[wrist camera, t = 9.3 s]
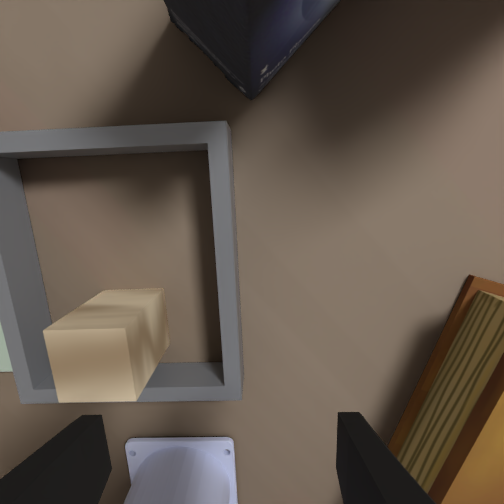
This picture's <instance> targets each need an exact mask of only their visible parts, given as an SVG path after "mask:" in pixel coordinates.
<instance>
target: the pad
mask: <svg viewBox="0 0 504 504" xmlns="http://www.w3.org/2000/svg"><path fill="white" fill-rule="evenodd" d="M9 371H13V370H12V366H11V362H10V358H9V354H8V350H7V346H6V342H5V338H4V334H3V330H2V326H1V322H0V372H9Z"/></svg>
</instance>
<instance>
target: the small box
mask: <svg viewBox="0 0 504 504" xmlns="http://www.w3.org/2000/svg"><path fill="white" fill-rule="evenodd" d="M340 1H341V0H164V2H165V4H166V6H167V8H168V12H169V16H170V20H171V22H173V23H175V25H176V26H177V28H179V29H180V30H181V31H182V32H184V33H185V34H187V35H188V36H189V39H190V40H191V41H193V42H194V43H195V44H196V45H197V46H198V47H199V48H200V49H201V50H202V51H203V53H204V54H206V55H207V56H208V57H209V59H211V60H212V61H213V63H214V64H215V66H217V67H218V68H219V69H220V70H221V71H222V72H223V73H224V74H225V77H226V78H227V79H228V80H229V81H230V82H231V83H232V84H233V85H234V86H235V87H236V88H238V89H239V90H240V91H241V92H243V93H244V94H245V96H246V97H247V98H249V99H251V100H252V99H254V98H255V97H256V96H257V95H258V94H259V93H260V92H261V90H262V89H263V88H264V87H265V86H266V85H267V84H268V82H269V81H270V80H271V79H272V78H273V77H274V76H275V74H276V73H277V72H278V71H279V70H280V69H281V67H282V66H283V65H284V64H285V63H286V62H287V61H288V60H289V58H290V57H291V56H292V55H293V54H294V53H295V52H296V50H297V49H298V48H299V47H300V46H301V45H302V44H303V42H304V41H305V40H306V39H307V38H308V37H309V36H310V35H311V34H312V32H313V31H314V30H315V29H316V28H317V27H318V26H319V24H320V23H321V22H322V21H323V20H324V19H325V18H326V17H327V15H328V14H329V13H330V12H331V11H332V10H333V9H334V8H335V6H336V5H337V4H338V3H339V2H340Z"/></svg>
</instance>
